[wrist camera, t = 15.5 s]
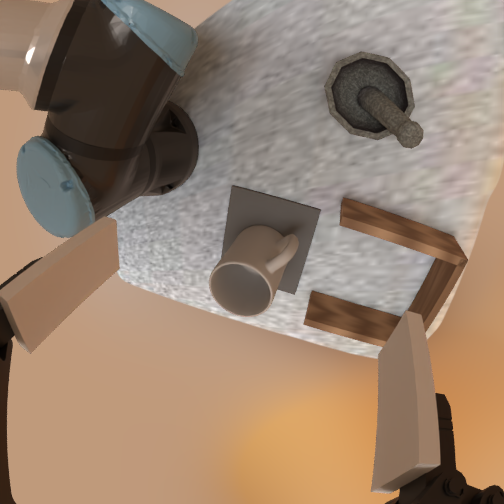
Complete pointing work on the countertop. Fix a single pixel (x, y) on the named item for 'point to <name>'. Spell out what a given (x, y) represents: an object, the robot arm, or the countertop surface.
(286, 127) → the countertop surface
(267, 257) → the mug
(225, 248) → the mat
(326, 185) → the countertop surface
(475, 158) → the countertop surface
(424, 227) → the open-sided wooden frame
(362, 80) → the mortar and pestle
